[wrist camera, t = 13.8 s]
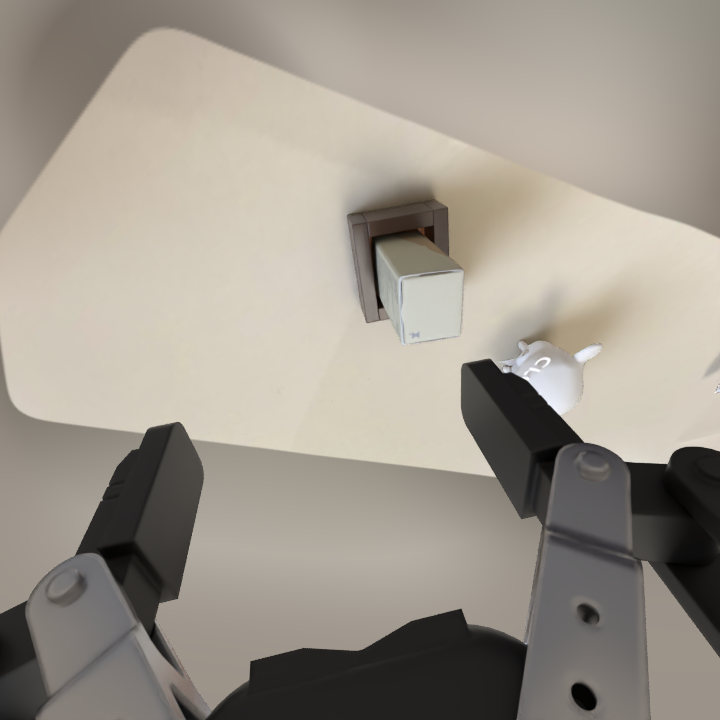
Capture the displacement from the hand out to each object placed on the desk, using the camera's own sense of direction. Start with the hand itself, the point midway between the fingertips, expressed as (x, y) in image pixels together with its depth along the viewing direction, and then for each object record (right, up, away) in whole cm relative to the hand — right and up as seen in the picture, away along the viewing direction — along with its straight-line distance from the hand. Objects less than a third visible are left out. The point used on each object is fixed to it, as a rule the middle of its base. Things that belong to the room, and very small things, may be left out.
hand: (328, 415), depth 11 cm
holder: (+4, +11, +24) cm, 27 cm away
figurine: (+19, +2, +33) cm, 38 cm away
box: (+4, +11, +24) cm, 27 cm away
